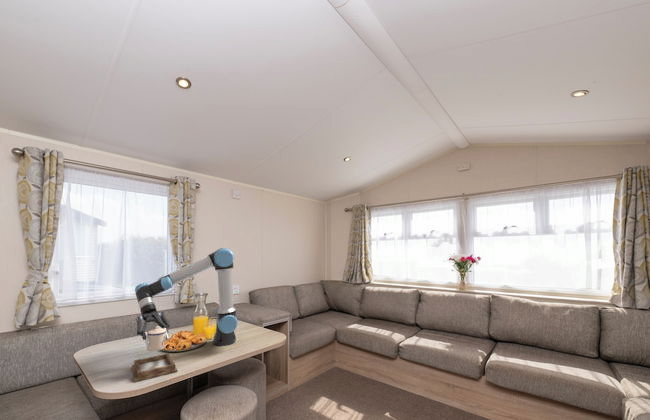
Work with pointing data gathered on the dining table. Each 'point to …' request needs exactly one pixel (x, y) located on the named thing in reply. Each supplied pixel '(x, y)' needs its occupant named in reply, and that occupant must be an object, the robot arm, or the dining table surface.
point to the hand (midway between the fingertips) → (157, 341)
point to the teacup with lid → (156, 339)
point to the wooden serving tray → (153, 367)
